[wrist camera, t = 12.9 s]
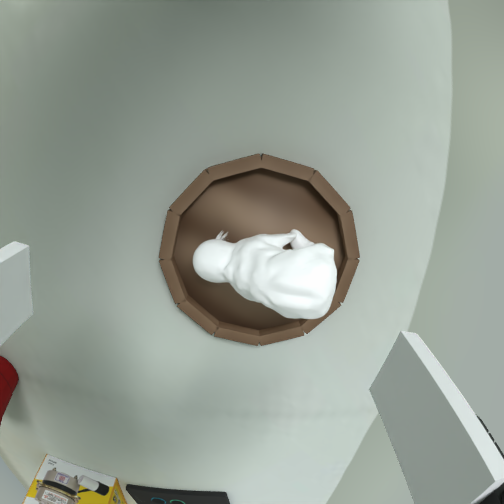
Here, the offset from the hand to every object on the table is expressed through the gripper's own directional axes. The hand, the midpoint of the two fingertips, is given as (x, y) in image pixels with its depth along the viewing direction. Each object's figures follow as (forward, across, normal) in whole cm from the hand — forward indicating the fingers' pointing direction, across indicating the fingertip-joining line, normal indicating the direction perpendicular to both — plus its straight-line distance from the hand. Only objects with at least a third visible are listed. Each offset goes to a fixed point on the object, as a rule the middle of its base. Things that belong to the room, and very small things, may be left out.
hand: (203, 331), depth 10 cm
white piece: (+20, +3, -4) cm, 21 cm away
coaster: (+21, +4, -4) cm, 22 cm away
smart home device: (+21, +1, -57) cm, 60 cm away
